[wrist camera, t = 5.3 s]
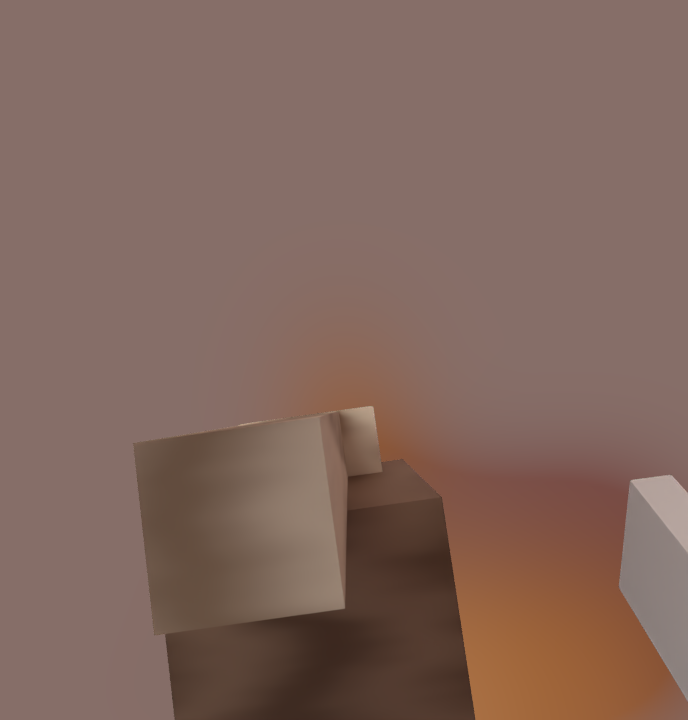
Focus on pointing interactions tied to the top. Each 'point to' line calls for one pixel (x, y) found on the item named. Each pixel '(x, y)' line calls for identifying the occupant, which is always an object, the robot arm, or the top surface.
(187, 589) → the birch bar
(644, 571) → the robot arm
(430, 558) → the walnut stand
